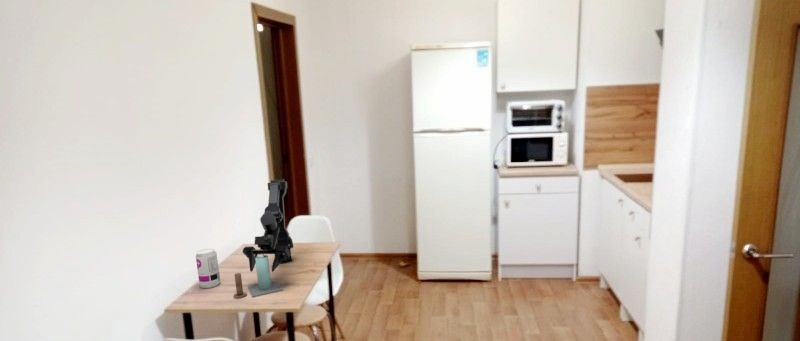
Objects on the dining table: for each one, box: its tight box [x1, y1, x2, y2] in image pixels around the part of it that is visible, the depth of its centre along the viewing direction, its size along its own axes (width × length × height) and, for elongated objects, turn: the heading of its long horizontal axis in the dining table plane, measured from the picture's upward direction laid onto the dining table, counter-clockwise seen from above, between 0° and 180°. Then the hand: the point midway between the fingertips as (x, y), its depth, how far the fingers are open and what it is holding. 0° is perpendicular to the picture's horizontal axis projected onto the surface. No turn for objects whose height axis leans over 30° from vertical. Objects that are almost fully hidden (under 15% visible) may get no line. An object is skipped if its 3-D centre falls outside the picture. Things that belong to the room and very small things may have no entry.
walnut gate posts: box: [233, 272, 248, 300], centre depth 188 cm, size 21×5×9 cm, turn 161°
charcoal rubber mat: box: [247, 279, 284, 298], centre depth 187 cm, size 12×12×1 cm
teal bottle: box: [255, 254, 272, 290], centre depth 186 cm, size 5×5×14 cm
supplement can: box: [195, 248, 221, 289], centre depth 195 cm, size 8×8×15 cm
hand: (261, 271), depth 184 cm, fingers open, 9 cm apart
